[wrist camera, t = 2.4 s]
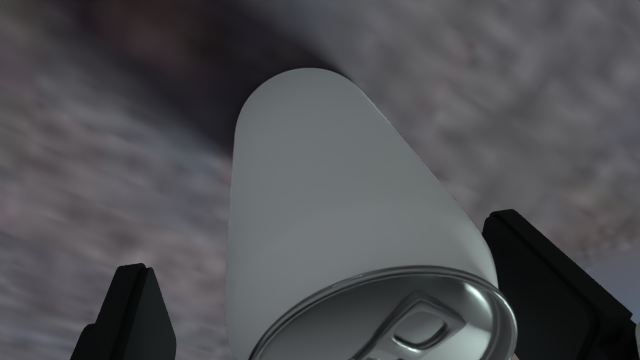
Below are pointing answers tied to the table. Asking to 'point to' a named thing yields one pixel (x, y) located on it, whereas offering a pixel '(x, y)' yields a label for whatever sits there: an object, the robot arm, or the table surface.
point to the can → (349, 238)
